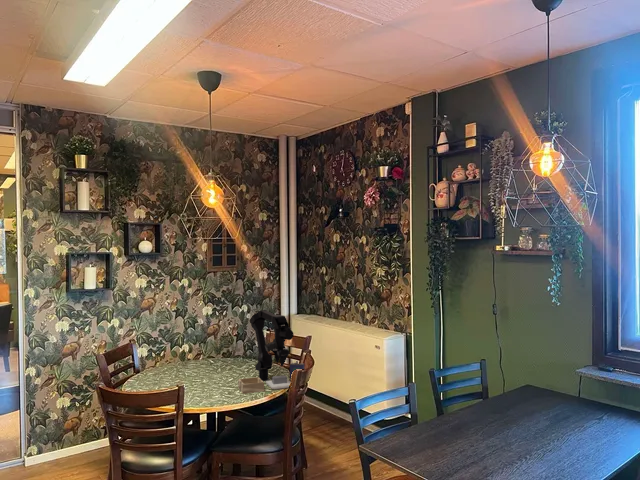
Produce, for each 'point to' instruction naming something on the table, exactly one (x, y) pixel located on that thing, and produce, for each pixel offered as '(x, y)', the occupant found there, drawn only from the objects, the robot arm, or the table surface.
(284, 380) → the lid
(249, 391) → the box
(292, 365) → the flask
